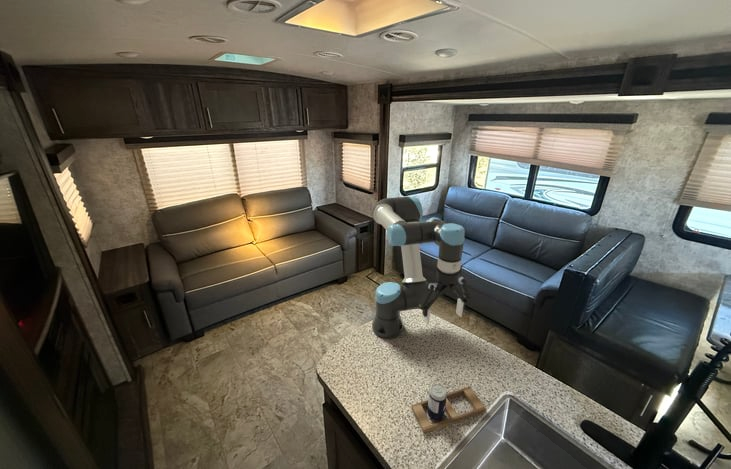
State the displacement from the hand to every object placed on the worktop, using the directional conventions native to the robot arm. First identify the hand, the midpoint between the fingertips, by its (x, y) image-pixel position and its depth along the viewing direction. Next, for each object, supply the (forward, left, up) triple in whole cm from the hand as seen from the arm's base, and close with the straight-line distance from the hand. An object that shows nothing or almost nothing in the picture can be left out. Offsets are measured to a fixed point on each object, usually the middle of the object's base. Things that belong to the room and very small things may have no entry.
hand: (442, 318), depth 105 cm
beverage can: (+16, -10, -27) cm, 33 cm away
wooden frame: (+16, -5, -27) cm, 31 cm away
